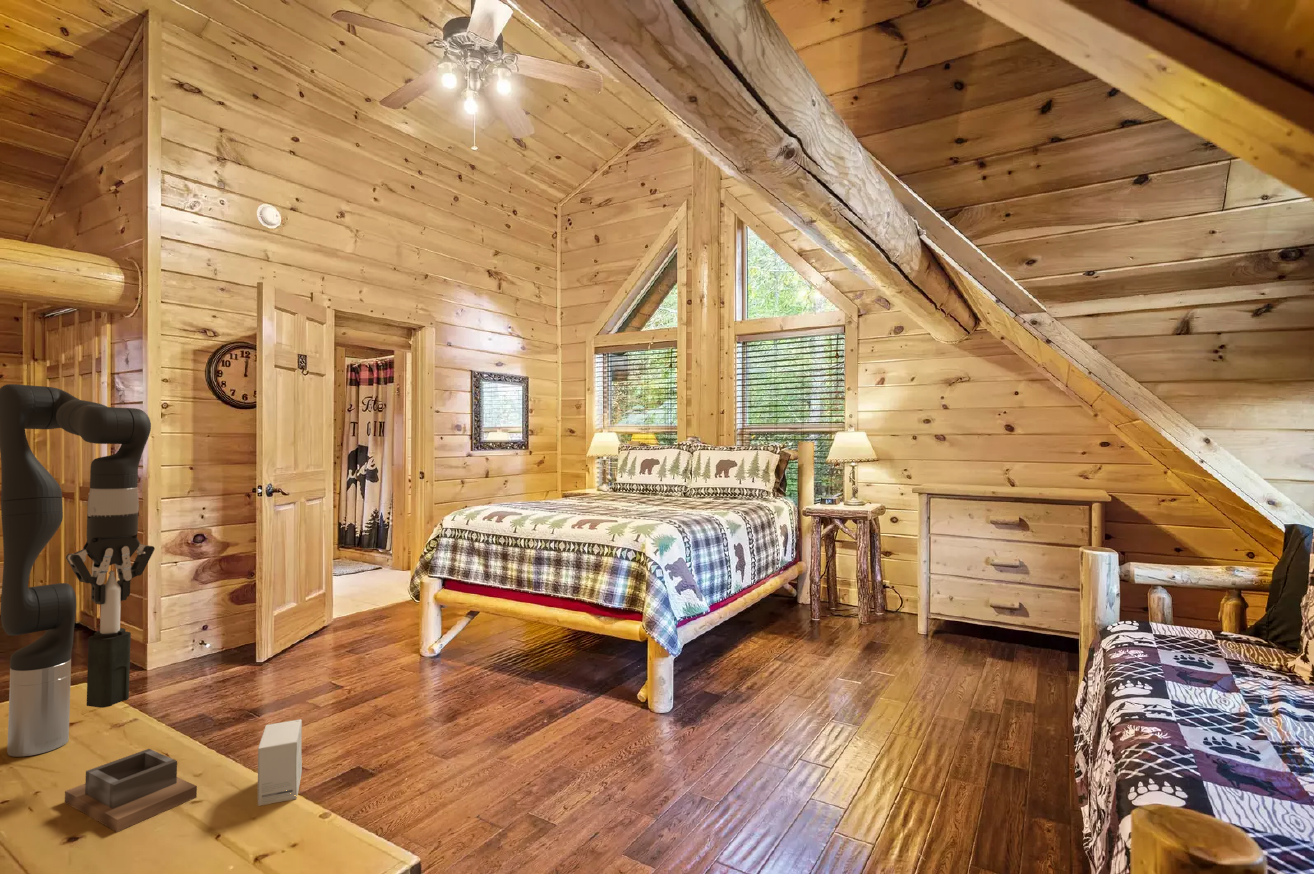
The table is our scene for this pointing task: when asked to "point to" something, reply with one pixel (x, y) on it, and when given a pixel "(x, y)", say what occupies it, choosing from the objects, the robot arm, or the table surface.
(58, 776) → the table surface
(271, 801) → the skincare box
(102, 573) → the robot arm
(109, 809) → the socket board
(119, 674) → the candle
